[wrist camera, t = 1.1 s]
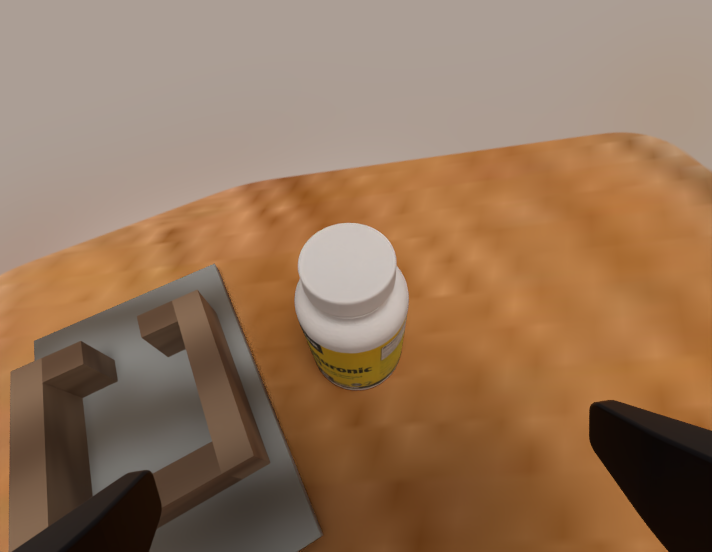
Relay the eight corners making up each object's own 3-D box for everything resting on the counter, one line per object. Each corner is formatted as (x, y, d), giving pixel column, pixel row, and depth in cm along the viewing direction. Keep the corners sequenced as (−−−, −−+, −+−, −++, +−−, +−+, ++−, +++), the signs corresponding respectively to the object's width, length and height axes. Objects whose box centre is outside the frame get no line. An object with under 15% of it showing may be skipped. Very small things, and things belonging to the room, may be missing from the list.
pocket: (323, 534, 17) (311, 540, 14) (59, 706, 15) (-28, 760, 11) (218, 270, 26) (196, 237, 23) (43, 345, 24) (-8, 320, 21)
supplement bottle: (297, 362, 22) (251, 276, 14) (346, 298, 25) (331, 192, 16) (371, 412, 20) (367, 345, 12) (416, 337, 23) (439, 239, 15)
